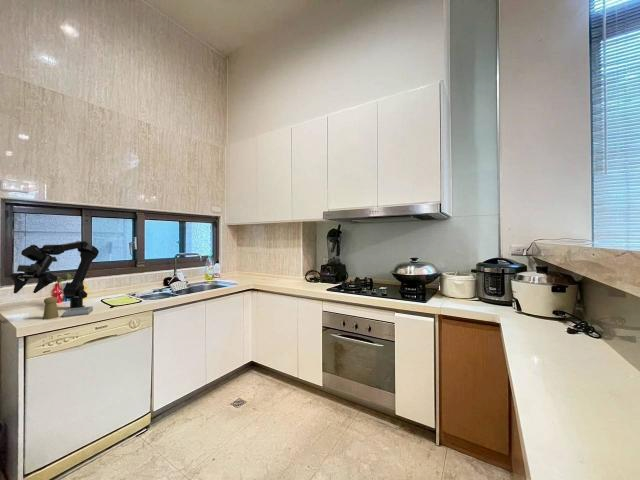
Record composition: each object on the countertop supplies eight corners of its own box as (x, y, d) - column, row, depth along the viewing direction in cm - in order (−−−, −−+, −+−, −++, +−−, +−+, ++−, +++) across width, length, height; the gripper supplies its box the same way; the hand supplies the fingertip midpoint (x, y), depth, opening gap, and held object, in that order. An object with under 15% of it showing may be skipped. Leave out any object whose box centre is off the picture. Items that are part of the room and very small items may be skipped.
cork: (48, 319, 136) (48, 298, 136) (39, 319, 137) (39, 298, 137) (61, 316, 142) (61, 296, 142) (53, 315, 143) (53, 295, 143)
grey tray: (69, 312, 149) (69, 308, 149) (92, 310, 154) (92, 306, 154) (62, 317, 140) (62, 313, 140) (88, 314, 145) (88, 310, 145)
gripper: (8, 257, 131) (-12, 286, 122) (47, 257, 132) (29, 286, 123) (28, 268, 140) (10, 295, 132) (64, 267, 141) (49, 295, 132)
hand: (24, 293), depth 129 cm, fingers open, 9 cm apart
